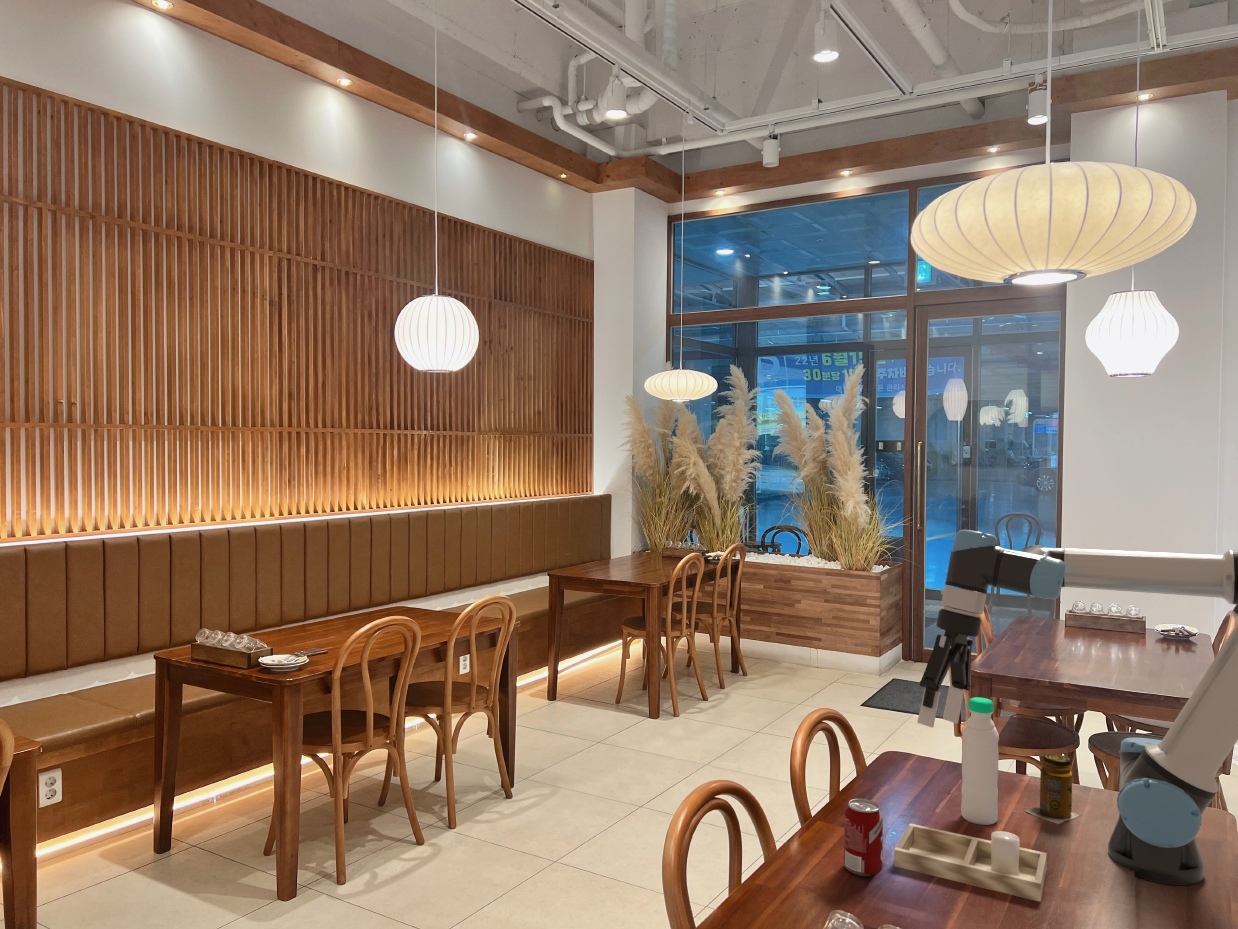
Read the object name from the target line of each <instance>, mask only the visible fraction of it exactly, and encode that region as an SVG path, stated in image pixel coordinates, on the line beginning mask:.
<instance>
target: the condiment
mask: <svg viewBox="0 0 1238 929" xmlns="http://www.w3.org/2000/svg"><path fill="white" fill-rule="evenodd" d="M1071 763H1072V762H1071V758H1069V757H1067V756H1065V755H1064V754H1063V755H1062V754H1057V753H1046V754H1044V755H1042V764H1041V765H1042V766H1041V768H1040V777H1039V778H1040V779H1039V782H1040V784H1039V787H1040V788H1039V806H1035V807H1033V808H1030V809H1026V810H1025V812H1026V813H1028V814H1031V815H1032V816H1036V817H1038V818H1041V819H1043V820H1044V821H1048V822H1051V823H1053V824H1056V825H1059V824H1063V823H1064V822H1066V821H1070V820H1072V819H1075V818H1078V817H1079V816H1080V815H1081V814H1078V813H1076V812H1073V810H1072V808H1073V803H1072V802H1073V800H1072V799H1073V797H1072V796H1073V772H1072V771H1071V769H1072V768H1071V767H1072V766H1071Z"/></svg>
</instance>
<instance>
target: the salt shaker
mask: <svg viewBox="0 0 1238 929" xmlns="http://www.w3.org/2000/svg"><path fill="white" fill-rule="evenodd" d="M990 836H991V837H990V838H991V840H990V841H991V870H995V871H999V872H1004V873H1008V874H1012V875H1017V876H1019V847H1020V837H1019V836H1018V835H1016V834H1014V833H1012V832H1008V831H1002V830H1001V831H1000V830H996V831H993V832H991V833H990Z"/></svg>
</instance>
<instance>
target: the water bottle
mask: <svg viewBox="0 0 1238 929" xmlns="http://www.w3.org/2000/svg"><path fill="white" fill-rule="evenodd" d="M968 711H969V712H970V717H969V718H968V719H967V720H966V723H965V725H964V727H963V729H962V734H961V735H962V738H963V739H962V748H961V750H962V751H961V753H962V754H961V774H962V775H961V777H962V783H961V788H960V790H961V792H960V793H961V805H960V815H961V816H962V818H963V819H964V820H965V821H967V822H969V823H971V824H975V825H981V826H989V825H993V824H995V823H997V821H998V818H999V817H998V816H999V813H998V812H999V811H998V810H999V809H998V799H999V792H998V791H999V790H998V781H999V780H998V779H999V745H998V744H999V741H1000V737H999V736H1000V735H999V732H998V730H997V728H996V726H995V722H994V720H992V714H994V713H993V712H994V702H993V701H992V700H991V699H989V698H985V697H979V696H978V697H971V698H970V699H968Z"/></svg>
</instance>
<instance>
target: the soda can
mask: <svg viewBox="0 0 1238 929" xmlns="http://www.w3.org/2000/svg"><path fill="white" fill-rule="evenodd" d="M847 805H848V806H847V808H845V811H844V830H843V831H844V834H843V848H844V849H843V866H844V867H845V869H846V870H848V871H849V872H850V873H852V874H853V875H856V876H858V877H865V878H871V877H874V876H875V875H876V874H878V873H880V872H882V870H883V859H884V858H883V854H884V853H883V851H884V849H883V847H884V846H883V843H884V816H883V814H882V812H881V811H880V809H881V808H880V804H878V802H875V801H873V800H870V799H865V798H854V799H850V800H849V801H848V803H847Z"/></svg>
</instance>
